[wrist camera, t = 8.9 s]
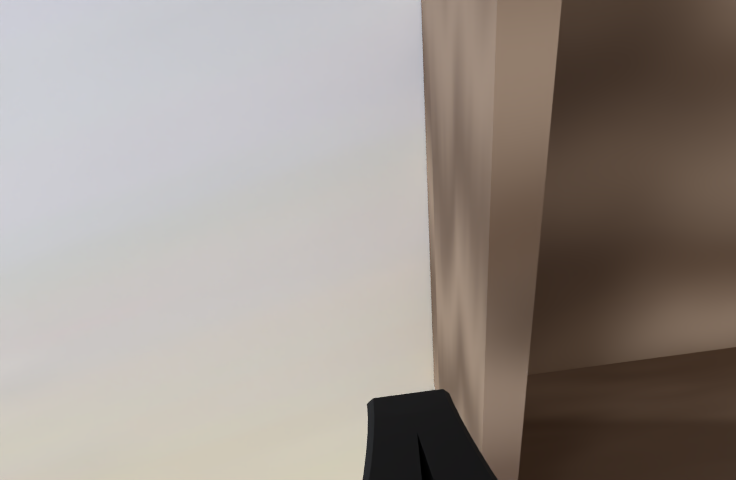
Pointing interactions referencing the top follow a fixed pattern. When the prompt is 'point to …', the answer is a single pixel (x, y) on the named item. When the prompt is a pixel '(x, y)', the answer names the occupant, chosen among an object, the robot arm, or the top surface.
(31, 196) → the top surface
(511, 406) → the cart bed
